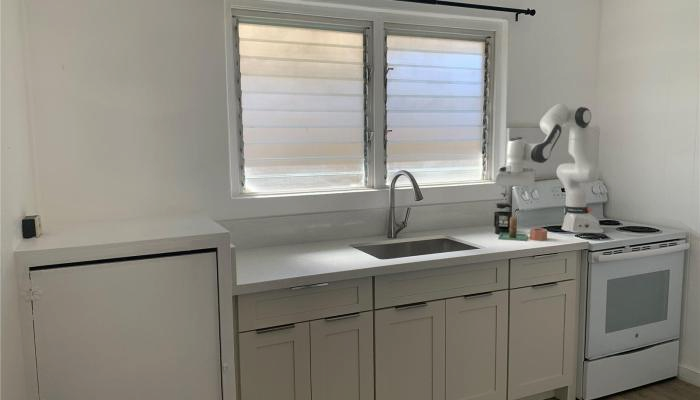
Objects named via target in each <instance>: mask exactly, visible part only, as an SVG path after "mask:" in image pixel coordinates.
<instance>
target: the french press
mask: <svg viewBox="0 0 700 400" xmlns="http://www.w3.org/2000/svg"><path fill="white" fill-rule="evenodd" d="M500 195H503V202H497V203H495V205H496V208H497V209H500V211H494V214H493V215H494V216H493V217H494V221H493V226H494V234H495V235H500V233H510V217H513V212H512V211H505V209H506V208H510V209H511V208H512V205H513V203H508V202H505V199H506V194H504V192H502V193H500ZM501 209H502V210H501ZM500 217H502V218H503V219H502V220H500ZM505 217H507V220H505ZM505 225H506V226H505Z"/></svg>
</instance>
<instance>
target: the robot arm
mask: <svg viewBox="0 0 700 400" xmlns="http://www.w3.org/2000/svg"><path fill="white" fill-rule="evenodd" d="M591 120H592V112H591V110H590V109H589V108H587V107H583V106H580V107H578V106H571V107H568V106H567V105H566V104H563V103H557V104H555V105H553V106H552V107H551V108H550V109H549V110H547V112H546V113H545V114H544V115H543V116H542V117H541V119H540V120H539V128H540V130H541V131H542V133H544V134H545V135H546V137H545V139H544V140H543V141H542V142H539V143H529V142H528V141H526V140H524V137H521V136H516V137H511V138H509V140H508V142H507V145H506V146H507V147H506V156H507V157H506V158H507V160H506V165H505V164H504V165H502V166H500V167H498V168H497V172H496V174H495V178H494V184H495V185H496V186H501V188H502V191H503V193H504V194H505V195H508V193H507V190H506V189H505V186H507V187H513V186H514V187H515V186H516V187H524V190H522V191H521V193H522V194H521V195H522V196H523V195H526V191H527V190H528V187H534V186H535V184H536V181H535V180H536V179H535V177H537V175H536V173H537V172H536V170H535V169H533V168H528V167H527V168H526V167H525V162H529V163H537V164H544V163H545V162H547V161H548V159H550V157H551V154H552V151H553V149H554V147H555V145H556V144H557V142H558V140H559V139H560V136H561V134H562V127H563V128H569V129H570V130H569V132H568V136H569V137H568V147H567V150H568V151H567V152H568V154H569V155H570V156H571V157H572V158H573V160H574V162H565V163H561V164H558V166H557V168H556V176H557V179H559V181H561V183H562V185H563V188H564V191H565V205H564V209H563V213H564V218H563V223H562V226H561V230H563V231H566V232H571V233H575V234H578V233H581V234H582V233H583V234H602V233H604V229H603V228H601V227H600V226H601V225H600V221H599V219H597V218H596V217H595V216H594V215H593V214H591V211H592V209H591V208H590V207H588V206H587V192H586V190H584V189H582V186H581V184H591V183H595V182H597V181H598V179H599V178H600V169H599V168H598V166H596V164H595V163H594V162H593V160H592V158H591V153H590V139H591V135H590V134H591V132H590V130H591V129H590V123H591ZM580 183H581V184H580Z"/></svg>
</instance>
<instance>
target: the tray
mask: <svg viewBox="0 0 700 400" xmlns="http://www.w3.org/2000/svg"><path fill="white" fill-rule="evenodd" d="M527 238H528V234H527V233H516V238H509V233H500V234H498V238H497V239H498V240H503V241H519V242H520V241H522V242H527Z"/></svg>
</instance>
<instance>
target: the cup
mask: <svg viewBox="0 0 700 400" xmlns="http://www.w3.org/2000/svg"><path fill="white" fill-rule="evenodd" d="M529 230H530V232H529V240H531V241H539V242H543V241H544V242H546V241H548V229H545V228H541V227H540V228H537V227H533V228H530V229H529Z"/></svg>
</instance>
